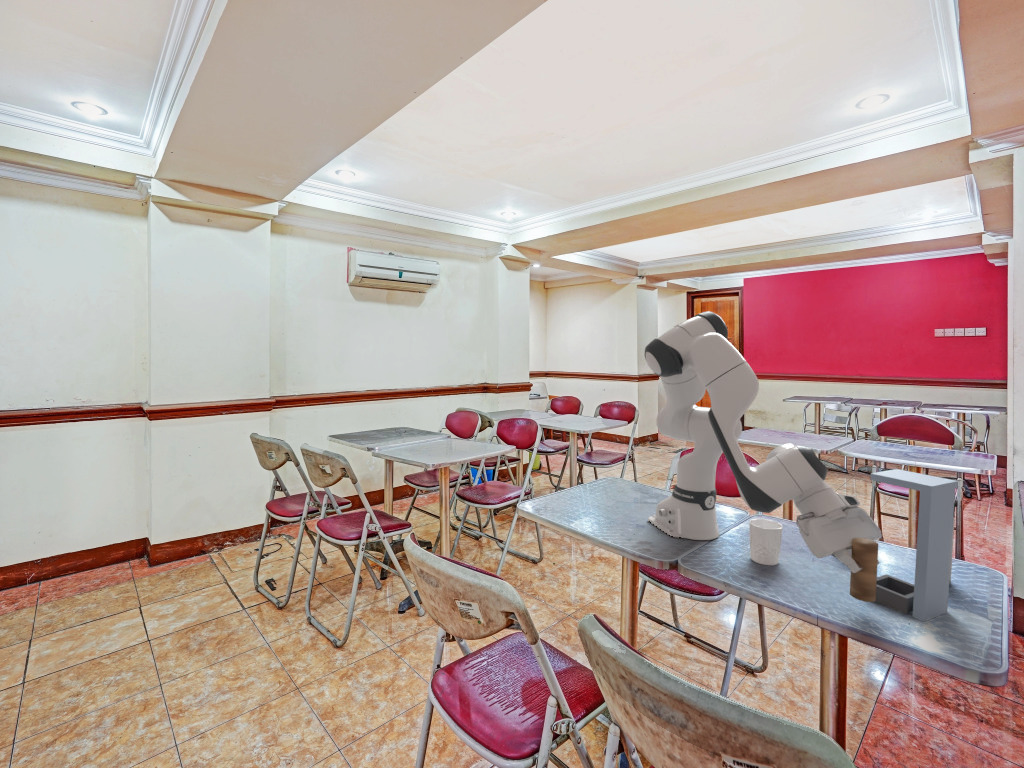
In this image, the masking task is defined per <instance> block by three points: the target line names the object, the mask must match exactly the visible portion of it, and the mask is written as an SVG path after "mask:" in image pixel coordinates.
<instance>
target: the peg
mask: <svg viewBox="0 0 1024 768" xmlns="http://www.w3.org/2000/svg"><path fill="white" fill-rule="evenodd" d="M878 555H879V543H878V542H877V541H873V540H869V539H865V538H853V539H852V555H851V558H852V559H853V560H854V561H855V562H856V561H858V562H859V563H860V565H861V566H862V567H863V569H862V570H861V571H859V572H856V573H853V572H851V571H850V577H849V578H850V580H849V581H850V582H849V595H850V596H851V597H852V598H853V599H855V600H859V601H862V602H865V603H866V602H868V603H872V602H873V603H874V602H876V601H875V600H876V582H877V577H878V565H877V562H878V561H879V556H878Z"/></svg>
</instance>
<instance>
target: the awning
mask: <svg viewBox="0 0 1024 768" xmlns="http://www.w3.org/2000/svg"><path fill="white" fill-rule="evenodd" d="M870 481H874V482H879V483H882V484H887V485H891V486H897V487H901V488H904V489H905V488H906V489H908V490H914V491H918V492H919V499H918V500H919V501H918V502H919V504H918V505H919V506H918V516H917V517H918V519H917V520H918V522H917V534H916V535H917V538H916V551H915V552H916V554H915V566H914V567H915V572H914V600H913V612H912V617H913V618H915V619H917V620H919V621H922V622H926V621H929V620H931V619H933V618H935V617H938V616H941V615H943V614H946V613H948V606H949V605H948V604H949V591H950V584H949V578H950V562H951V547H952V531H953V516H954V513H955V512H954V503H955V501H956V500H955V498H956V497H955V496H956V489H958V488H959V480H954V479H950V478H945V477H940V476H933V475H929V474H924V473H919V472H914V471H909V470H903V469H898V468H895V469H894V468H893V469H890V470H883V471H878V472H877V471H876V472H872V473H870Z"/></svg>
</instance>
